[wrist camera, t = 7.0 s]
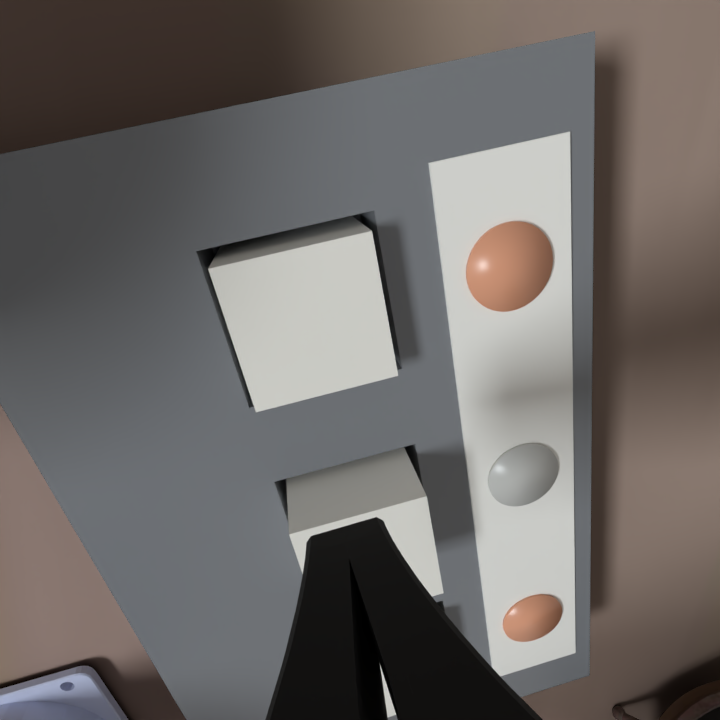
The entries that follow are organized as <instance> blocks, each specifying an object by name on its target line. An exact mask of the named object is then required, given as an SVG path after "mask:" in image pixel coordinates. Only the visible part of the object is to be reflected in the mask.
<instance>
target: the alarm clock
mask: <svg viewBox="0 0 720 720" xmlns="http://www.w3.org/2000/svg"><path fill="white" fill-rule="evenodd" d="M612 712H613V716H614V717H615V718H616V719H617V720H639V719H637V718H635V717H633V716H630V715H628V714H626V713H625V711H624V709H623V708H622V707H621V706H615V707H614V708H613V710H612ZM659 720H720V680H717V681H713V682H709V683H707V684H704V685H702V686H699V687H696V688H695V689H693V690H691V691H689V692H687V693H686V694H684V695H683V696H681V697H680V698H679V699H677V700H676V701H675V702H674V703H673V704H672V705H671V706H670V707H669V708H667V710H666V711H665V712H664V713H663V715H662V716H661V717H660V718H659Z"/></svg>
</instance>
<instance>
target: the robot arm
mask: <svg viewBox="0 0 720 720" xmlns="http://www.w3.org/2000/svg"><path fill="white" fill-rule="evenodd" d="M380 665H381V668H382V672H383V675H384V678H385V681H386V684H387V687H388V691H389V694H390V697H391V700H392V703H393V706H394V710H395V713H396V716H397V719H398V720H542V719H541V718H540V717H539V716H538V715H537V714H536V713H535V712H534V711H533V710H532V709H531V708H530V707H529V706H528V705H527V704H526V703H525V701H524V700H523V699H522V698H521V697H520V696H519V695H518V694H517V693H516V692H515V691H514V690H513V689H512V688H511V687H510V686H509V685H508V684H507V683H506V682H505V681H504V680H503V679H502V678H501V677H500V676H499V675H498V673H497V672H496V671H495V670H494V669H493V668H492V667H491V666H490V665H489V664H488V663H487V662H486V660H485V659H484V658H483V657H482V656H481V655H480V654H479V653H478V651H477V650H476V649H475V648H474V647H473V646H472V645H471V643H470V642H469V641H468V640H467V639H466V638H465V637H464V635H463V634H462V633H461V632H460V631H459V630H458V628H457V627H456V626H455V625H454V624H453V622H452V621H451V620H450V619H449V618H448V616H447V615H446V614H445V613H444V611H443V610H442V609H441V607H440V606H439V605H438V604H437V602H436V601H435V600H434V599H433V597H432V596H431V595H430V593H429V592H428V591H427V590H426V588H425V587H424V586H423V584H422V583H421V582H420V580H419V579H418V577H417V576H416V575H415V573H414V572H413V570H412V569H411V567H410V566H409V565H408V563H407V562H406V560H405V559H404V557H403V556H402V554H401V552H400V551H399V549H398V548H397V546H396V544H395V543H394V541H393V539H392V537H391V535H390V534H389V532H388V530H387V528H386V526H385V523H384V521H383V520H381V519H379V518H377V517H375V518H371V519H368V520H364V521H361V522H357V523H354V524H351V525H347V526H344V527H340V528H337V529H333V530H330V531H326V532H323V533H320V534H316V535H313V536H311V537H310V538H309V540H308V541H307V542H306V554H305V562H304V569H303V575H302V581H301V586H300V591H299V596H298V601H297V606H296V611H295V615H294V619H293V623H292V627H291V631H290V635H289V639H288V643H287V647H286V651H285V655H284V659H283V663H282V666H281V670H280V673H279V676H278V680H277V683H276V686H275V689H274V693H273V696H272V699H271V703H270V706H269V709H268V713H267V716H266V719H265V720H388V717H387V710H386V703H385V696H384V689H383V682H382V675H381V669H380ZM0 720H128V718H127V717H126V715H125V714H124V712H123V711H122V709H121V708H120V707H119V705H118V704H117V702H116V701H115V699H114V698H113V696H112V695H111V693H110V692H109V690H108V689H107V687H106V686H105V684H104V683H103V681H102V680H101V678H100V677H99V675H98V674H97V672H96V671H95V670H94V669H93V668H92V667H89V666H78V667H74V668H71V669H67V670H64V671H61V672H57V673H54V674H50V675H47V676H43V677H40V678H36V679H33V680H30V681H26V682H23V683H19V684H16V685H12V686H9V687H5V688H2V689H0Z"/></svg>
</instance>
